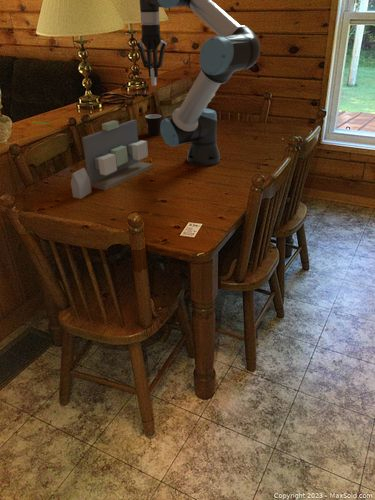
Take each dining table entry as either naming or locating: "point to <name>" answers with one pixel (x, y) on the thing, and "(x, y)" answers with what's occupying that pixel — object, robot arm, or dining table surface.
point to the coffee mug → (153, 124)
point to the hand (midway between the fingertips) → (153, 85)
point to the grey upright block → (80, 184)
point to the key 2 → (138, 149)
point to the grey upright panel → (102, 145)
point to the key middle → (120, 155)
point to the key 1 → (105, 164)
